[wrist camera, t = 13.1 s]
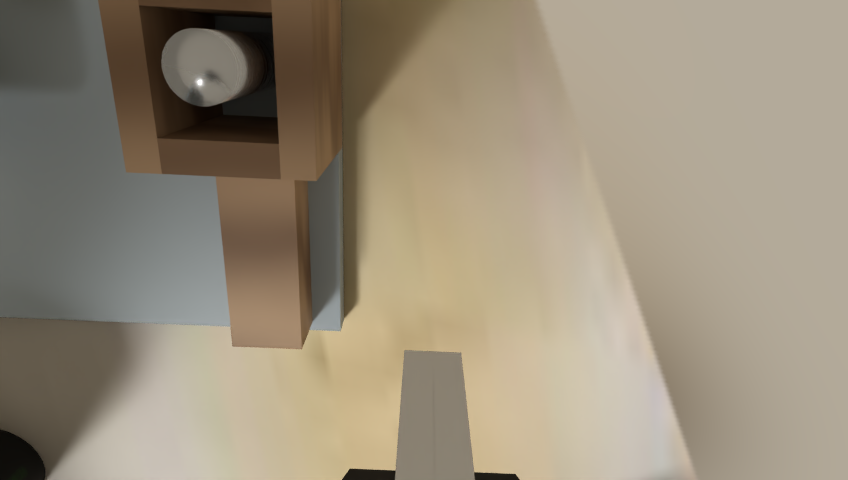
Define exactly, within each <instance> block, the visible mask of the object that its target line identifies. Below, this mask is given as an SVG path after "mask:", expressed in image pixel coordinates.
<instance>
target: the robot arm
mask: <svg viewBox="0 0 848 480" xmlns="http://www.w3.org/2000/svg"><path fill="white" fill-rule="evenodd" d="M342 480H519V478H518V477H517V476H516V474H500V473H476V472H474V467H473V458H472V449H471V439H470V430H469V421H468V412H467V403H466V393H465V384H464V375H463V366H462V357H461V353H457V352H434V351H412V350H404V363H403V377H402V391H401V404H400V418H399V432H398V445H397V459H396V471H391V470H367V469H349V471H348V472H347V473H346V475H345V476H344V478H343V479H342Z"/></svg>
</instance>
